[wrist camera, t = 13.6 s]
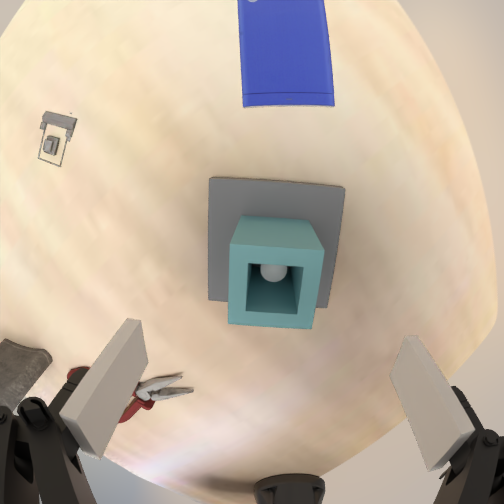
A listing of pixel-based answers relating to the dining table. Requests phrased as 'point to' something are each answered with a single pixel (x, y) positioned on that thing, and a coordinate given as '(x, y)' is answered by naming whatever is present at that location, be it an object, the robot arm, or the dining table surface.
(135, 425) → the dining table surface
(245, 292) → the block with square hole
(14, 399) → the flask
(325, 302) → the pin base
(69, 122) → the grey rectangular frame
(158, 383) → the pliers
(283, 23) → the hard drive
